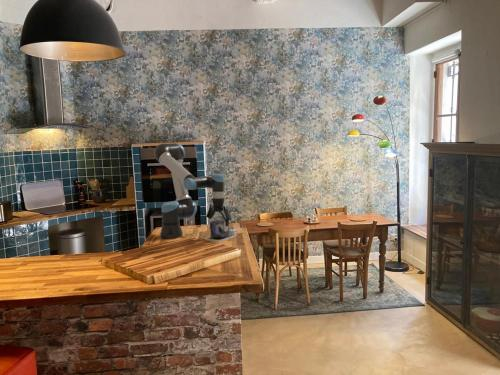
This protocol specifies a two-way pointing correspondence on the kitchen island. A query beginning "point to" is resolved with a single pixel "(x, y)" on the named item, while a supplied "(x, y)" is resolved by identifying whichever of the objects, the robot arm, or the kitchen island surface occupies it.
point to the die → (232, 232)
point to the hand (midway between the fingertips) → (218, 229)
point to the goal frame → (219, 240)
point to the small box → (218, 229)
